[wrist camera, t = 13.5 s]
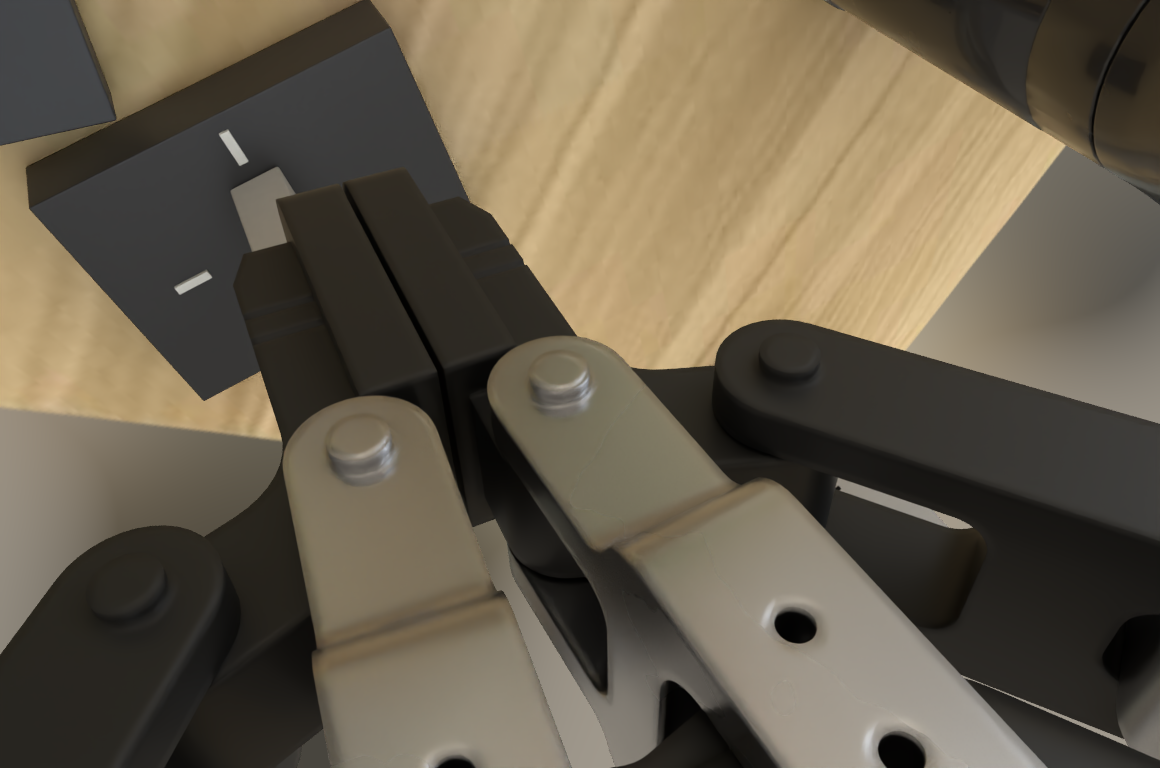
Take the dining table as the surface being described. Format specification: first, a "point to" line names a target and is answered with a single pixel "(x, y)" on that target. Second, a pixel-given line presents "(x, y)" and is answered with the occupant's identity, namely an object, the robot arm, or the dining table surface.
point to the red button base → (48, 71)
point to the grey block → (262, 208)
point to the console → (232, 179)
